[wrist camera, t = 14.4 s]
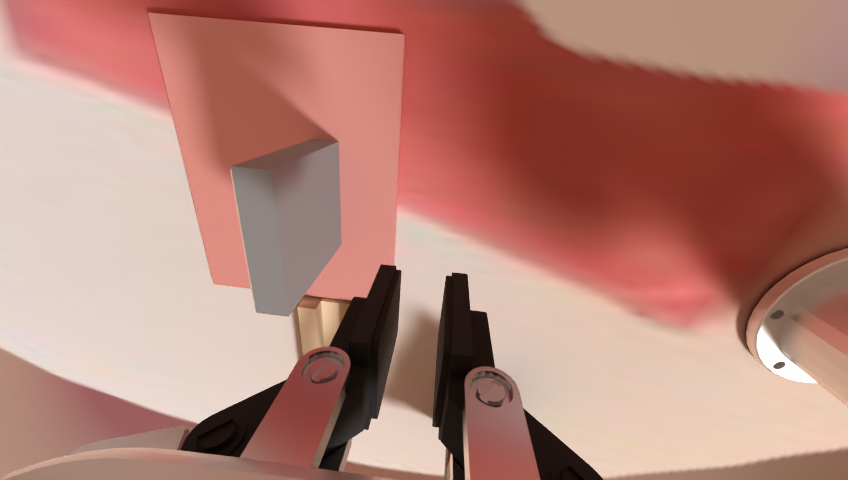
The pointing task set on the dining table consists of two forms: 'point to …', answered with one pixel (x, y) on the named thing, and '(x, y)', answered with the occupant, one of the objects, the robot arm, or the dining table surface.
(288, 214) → the grey square slab
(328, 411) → the robot arm
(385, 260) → the mat
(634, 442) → the dining table surface
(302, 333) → the stand
